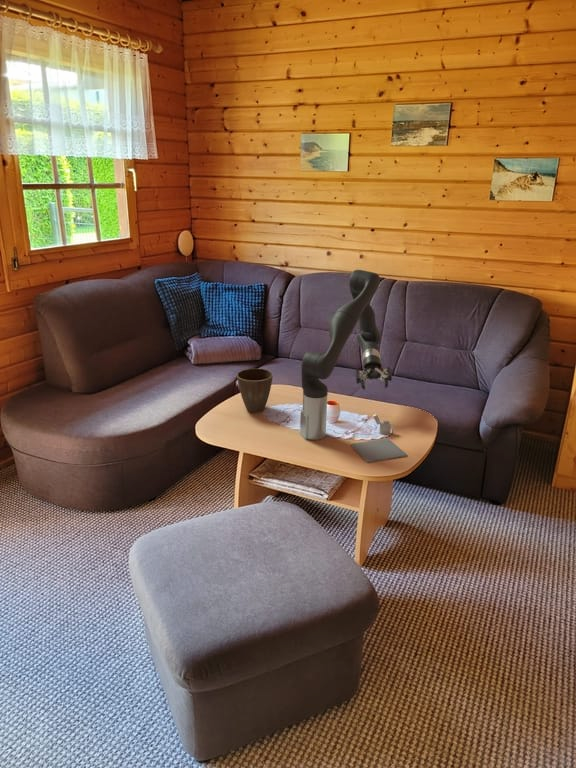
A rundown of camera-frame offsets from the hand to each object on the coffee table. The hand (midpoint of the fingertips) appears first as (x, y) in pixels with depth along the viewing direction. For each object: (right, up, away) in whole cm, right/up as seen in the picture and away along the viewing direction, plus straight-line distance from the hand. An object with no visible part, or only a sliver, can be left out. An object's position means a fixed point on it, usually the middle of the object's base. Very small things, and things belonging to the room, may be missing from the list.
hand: (375, 387), depth 220 cm
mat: (-1, -23, -16) cm, 28 cm away
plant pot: (-49, -10, +17) cm, 52 cm away
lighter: (+2, -18, -2) cm, 18 cm away
